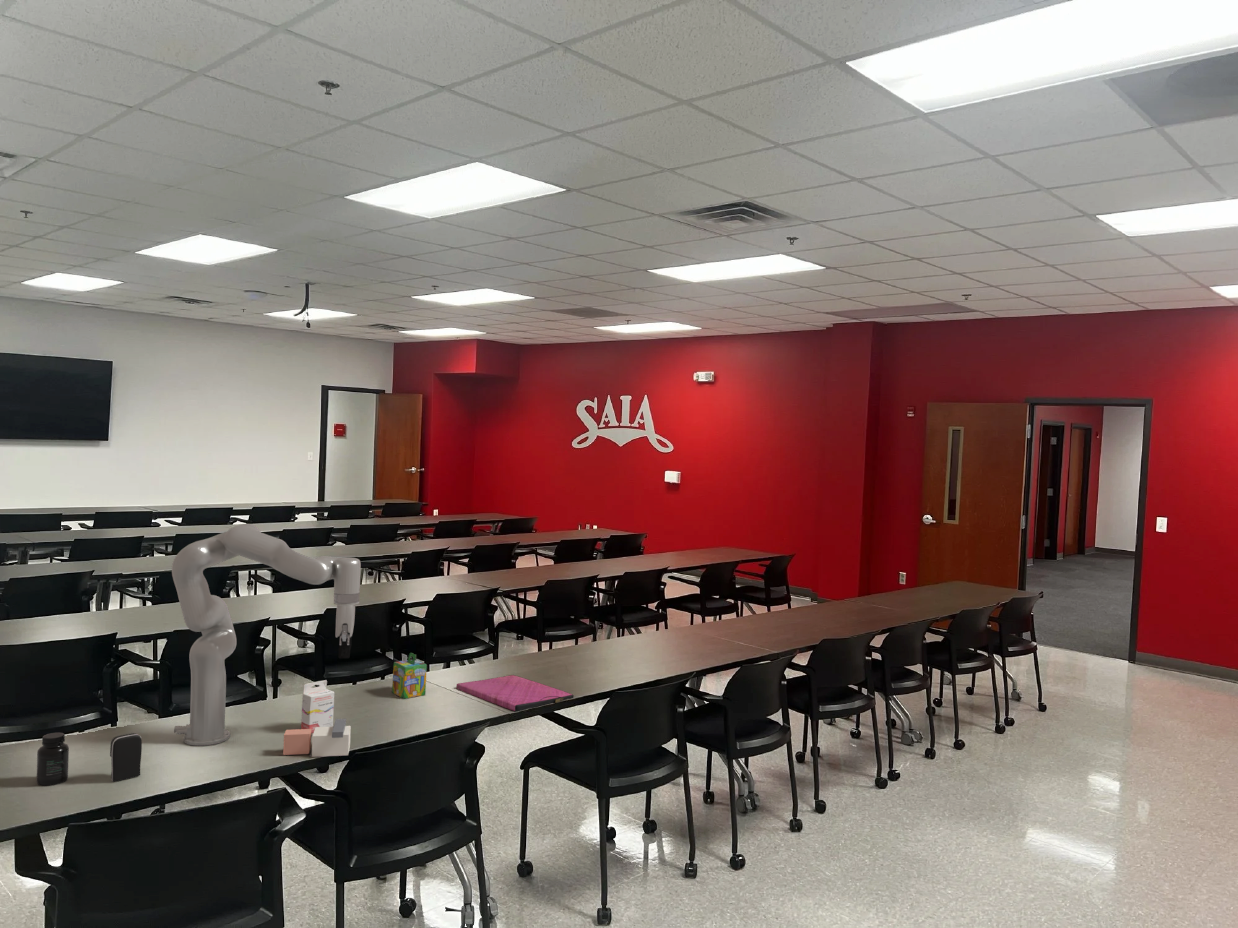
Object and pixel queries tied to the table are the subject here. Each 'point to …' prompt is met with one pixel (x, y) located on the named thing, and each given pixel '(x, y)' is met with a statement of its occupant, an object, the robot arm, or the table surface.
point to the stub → (297, 741)
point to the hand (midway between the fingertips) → (344, 653)
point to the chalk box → (409, 678)
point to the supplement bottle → (52, 760)
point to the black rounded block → (125, 756)
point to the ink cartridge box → (317, 706)
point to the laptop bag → (514, 692)
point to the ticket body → (331, 740)
